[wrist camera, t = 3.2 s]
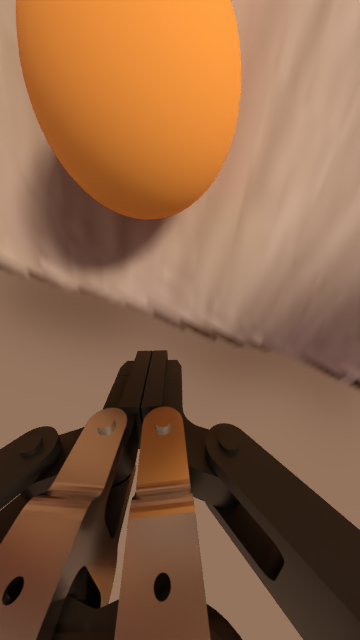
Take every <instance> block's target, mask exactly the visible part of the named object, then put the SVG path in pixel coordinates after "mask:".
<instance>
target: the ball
mask: <svg viewBox="0 0 360 640" xmlns="http://www.w3.org/2000/svg"><path fill="white" fill-rule="evenodd" d="M16 27H17V38H18V46H19V55H20V62H21V67H22V72H23V77H24V81H25V84H26V88H27V91H28V94H29V98H30V101H31V104H32V107H33V110H34V112H35V115H36V117H37V120H38V122H39V125H40V127H41V129H42V131H43V133H44V135H45V137H46V139H47V141H48V143H49V145H50V146H51V148H52V150H53V151H54V153H55V155H56V156H57V158H58V160H59V161H60V163H61V164H62V165H63V167H64V168H65V169H66V171H67V172H68V173H69V175H70V176H71V177H72V178H73V179H74V180H75V181H76V182H77V183H78V184H79V186H80V187H81V188H82V189H83V190H84V191H85V192H86V193H88V194H89V195H90V196H91V197H92V198H94V199H95V200H96V201H98V202H99V203H101V204H102V205H104V206H105V207H107V208H109V209H111V210H113V211H115V212H117V213H119V214H122V215H125V216H127V217H131V218H136V219H148V220H151V219H161V218H165V217H169V216H172V215H174V214H177V213H179V212H181V211H183V210H184V209H186V208H188V207H189V206H190V205H192V204H193V203H194V202H195V201H197V200H198V199H199V198H200V197H201V196H202V195H203V194H204V193H205V192H206V191H207V189H208V188H209V187H210V185H211V184H212V183H213V181H214V180H215V178H216V176H217V175H218V173H219V171H220V170H221V167H222V165H223V163H224V161H225V159H226V156H227V154H228V151H229V149H230V146H231V143H232V139H233V136H234V132H235V128H236V123H237V119H238V111H239V103H240V95H241V59H240V44H239V36H238V30H237V23H236V18H235V14H234V10H233V6H232V3H231V0H16Z"/></svg>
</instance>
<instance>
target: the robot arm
mask: <svg viewBox="0 0 360 640" xmlns="http://www.w3.org/2000/svg"><path fill="white" fill-rule="evenodd" d="M167 356H168V355H167V351H166V350H164V351H138V352H137V355H136V358H135V361H127V362H126V363H125V364H124V365H123V366H122V367H121V368H120V370H119V372H118V375H117V377H116V380H115V383H114V384H113V386H112V389H111V391H110V394H109V396H108V398H107V401H106V403H105V405H104V408H103V410H101V411H99V412H98V413H96V414H95V415H93V416H92V417H91V418H90V419H89V421H88V422H87V424H86V425H85V427H83V428H80V429H78V430H74V431H71V432H68V433H65V434H61V435H58V433H57V431H56V430H55V429H54V428H52V427H48V426H46V427H45V426H44V427H39V428H36V429H33V430H31V431H29V432H27V433H25V434H24V435H22V436H20V437H19V438H17V439H16V440H14V441H13V442H11V443H10V444H8V445H6V446H5V447H3V448H2V449H0V509H1V508H3V507H4V506H5V505H7V504H8V503H9V502H10V501H11V500H13V499H14V498H15V497H16V496H18V495H19V494H20V495H19V496H18V497H17V498H15V499H14V500H13V501H12V502H10V503H9V504H8V505H7V506H6V507H4V508H3V509H2V510H1V511H0V640H242V639H241V637H240V635H239V634H238V633H237V632H236V631H235V629H234V628H233V627H232V626H231V625H230V623H229V622H228V621H227V620H226V619H225V618H224V617H223V616H222V615H220V614H219V613H218V612H217V611H216V610H215V609H213V608H212V607H211V606H209V605H207V604H206V597H205V589H204V581H203V572H202V564H201V556H200V547H199V539H198V531H197V522H196V515H195V506H194V499H193V497H196V498H198V499H200V500H203V501H205V503H206V504H207V506H208V508H209V509H210V511H211V512H212V513H213V515H214V516H215V518H216V519H217V520H218V522H219V523H220V525H221V526H222V527H223V529H224V530H225V532H226V533H227V534H228V535H229V537H230V538H231V540H232V541H233V543H234V544H235V545H236V547H237V548H238V549H239V551H240V552H241V553H242V555H243V556H244V558H245V559H246V560H247V562H248V563H249V565H250V566H251V567H252V569H253V570H254V572H255V573H256V574H257V576H258V577H259V579H260V580H261V581H262V583H263V584H264V586H265V587H266V588H267V590H268V591H269V592H270V594H271V595H272V596H273V598H274V599H275V601H276V602H277V604H278V605H279V606H280V608H281V609H282V611H283V612H284V613H285V615H286V616H287V617H288V619H289V620H290V621H291V623H292V624H293V626H294V627H295V629H296V630H297V631H298V633H299V634H300V635H301V637H302V638H303V640H360V530H359V529H358V528H357V527H355V526H354V525H353V524H352V523H351V522H349V521H348V520H347V519H346V518H345V517H344V516H342V515H341V514H340V513H339V512H338V511H336V510H335V509H334V508H333V507H332V506H331V505H329V504H328V503H327V502H326V501H325V500H324V499H322V498H321V497H320V496H319V495H318V494H316V493H315V492H314V491H313V490H312V489H310V488H309V487H308V486H307V485H306V484H305V483H303V482H302V481H301V480H300V479H299V478H298V477H296V476H295V475H294V474H293V473H292V472H290V471H289V470H288V469H287V468H286V467H284V466H283V465H282V464H281V463H280V462H279V461H277V460H276V459H275V458H274V457H273V456H271V455H270V454H269V453H268V452H267V451H266V450H264V449H263V448H262V447H261V446H260V445H258V444H257V443H256V442H255V441H254V440H253V439H251V438H250V437H249V436H248V435H247V434H245V433H244V432H243V431H242V430H241V429H239V428H237V427H236V426H234V425H231V424H225V423H224V424H217V425H215V426H213V427H212V428H211V429H210V430H208V429H205V428H202V427H198V426H196V425H194V424H192V423H191V422H190V421H189V420H187V418H186V417H185V415H184V413H183V408H182V374H181V365H180V364H179V362H178V361H177V360H168V357H167ZM138 449H140V455H139V465H138V476H137V485H136V492H135V496H134V497H133V498H132V501H131V505H130V511H129V519H128V527H127V536H126V544H125V553H124V562H123V570H122V578H121V588H120V596H119V600H117V601H114V602H112V603H110V604H109V599H110V595H111V591H112V587H113V582H114V577H115V571H116V565H117V551H118V543H119V537H120V532H121V528H122V524H123V520H124V516H125V512H126V508H127V504H128V500H129V495H130V492H131V488H132V483H133V479H134V475H135V470H136V465H135V462H136V457H137V452H138Z"/></svg>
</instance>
